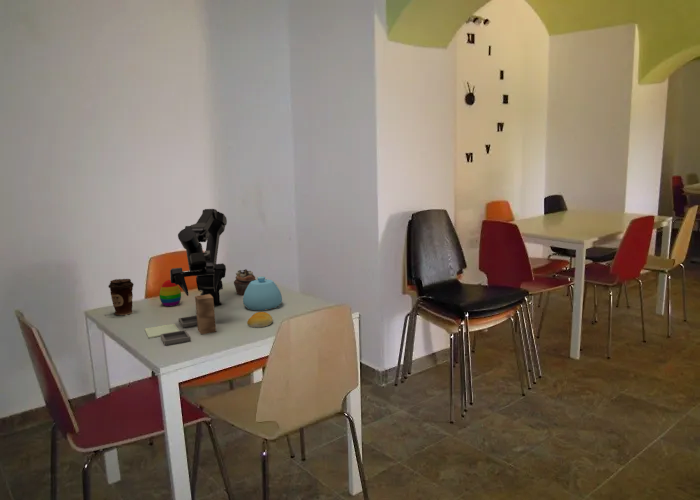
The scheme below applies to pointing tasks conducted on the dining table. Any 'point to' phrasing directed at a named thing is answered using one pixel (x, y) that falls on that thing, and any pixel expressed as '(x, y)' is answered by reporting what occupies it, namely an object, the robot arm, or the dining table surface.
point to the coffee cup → (121, 296)
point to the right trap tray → (188, 321)
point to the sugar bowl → (262, 295)
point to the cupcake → (243, 281)
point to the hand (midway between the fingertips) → (201, 293)
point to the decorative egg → (170, 294)
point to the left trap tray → (175, 337)
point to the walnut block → (205, 314)
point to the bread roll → (260, 319)
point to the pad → (160, 330)
